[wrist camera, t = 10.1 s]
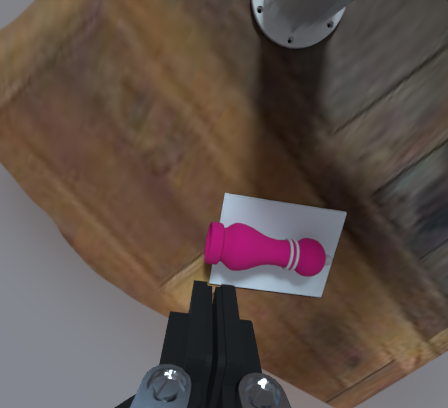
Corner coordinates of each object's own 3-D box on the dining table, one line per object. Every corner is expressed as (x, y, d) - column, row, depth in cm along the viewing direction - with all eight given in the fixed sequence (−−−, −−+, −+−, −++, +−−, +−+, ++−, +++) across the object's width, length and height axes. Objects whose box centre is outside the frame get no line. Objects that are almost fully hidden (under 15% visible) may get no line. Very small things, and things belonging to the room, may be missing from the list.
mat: (224, 193, 47) (225, 193, 46) (345, 211, 49) (346, 212, 48) (209, 281, 51) (209, 283, 51) (319, 295, 53) (321, 297, 53)
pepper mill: (207, 226, 49) (319, 244, 52) (201, 270, 46) (321, 286, 49) (214, 211, 43) (342, 232, 46) (209, 261, 40) (345, 280, 43)
